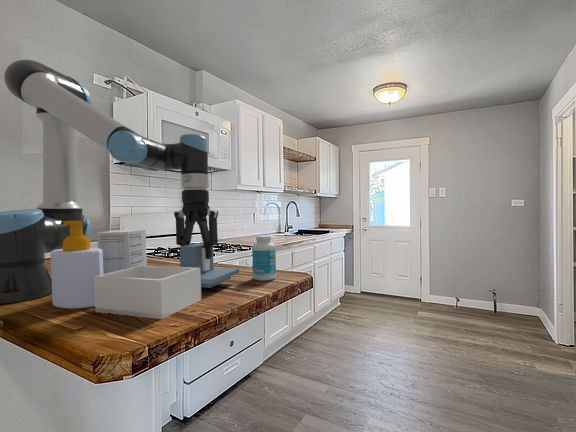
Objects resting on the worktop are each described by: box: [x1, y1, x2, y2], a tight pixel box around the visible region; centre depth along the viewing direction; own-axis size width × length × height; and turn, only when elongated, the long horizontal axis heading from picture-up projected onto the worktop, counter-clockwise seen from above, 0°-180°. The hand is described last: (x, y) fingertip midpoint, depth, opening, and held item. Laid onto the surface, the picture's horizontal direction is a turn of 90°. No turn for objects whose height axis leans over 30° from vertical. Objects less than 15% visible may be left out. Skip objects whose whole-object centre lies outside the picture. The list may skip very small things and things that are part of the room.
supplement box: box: [96, 229, 148, 274], centre depth 93 cm, size 10×9×17 cm
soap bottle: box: [50, 221, 104, 309], centre depth 78 cm, size 13×8×20 cm, turn 75°
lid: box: [179, 242, 240, 288], centre depth 93 cm, size 19×15×11 cm
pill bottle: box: [251, 235, 277, 281], centre depth 102 cm, size 8×7×14 cm
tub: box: [94, 265, 202, 320], centre depth 75 cm, size 18×14×8 cm
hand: (197, 269), depth 93 cm, fingers closed on lid, 5 cm apart
